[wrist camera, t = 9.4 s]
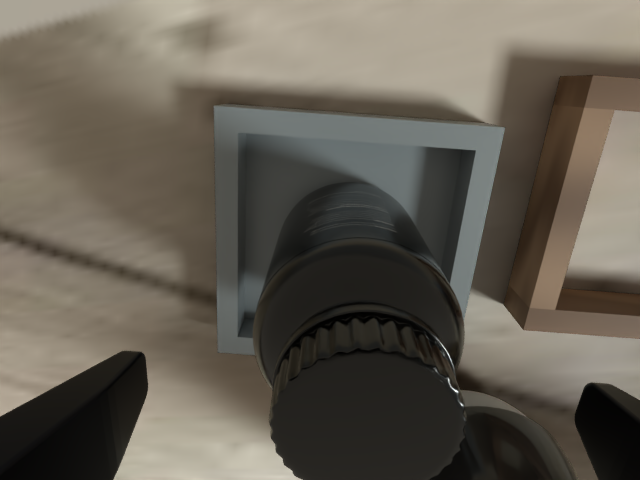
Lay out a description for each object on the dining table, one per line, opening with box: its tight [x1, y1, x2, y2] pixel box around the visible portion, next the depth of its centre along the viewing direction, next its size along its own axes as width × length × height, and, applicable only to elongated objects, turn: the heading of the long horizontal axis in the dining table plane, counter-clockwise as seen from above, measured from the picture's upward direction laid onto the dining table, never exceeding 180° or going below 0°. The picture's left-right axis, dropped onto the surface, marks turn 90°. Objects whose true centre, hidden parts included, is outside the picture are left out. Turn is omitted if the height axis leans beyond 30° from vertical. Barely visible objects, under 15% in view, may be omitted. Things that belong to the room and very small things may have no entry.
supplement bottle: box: [253, 182, 467, 480], centre depth 16 cm, size 7×7×12 cm
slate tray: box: [214, 104, 505, 355], centre depth 20 cm, size 12×12×2 cm
